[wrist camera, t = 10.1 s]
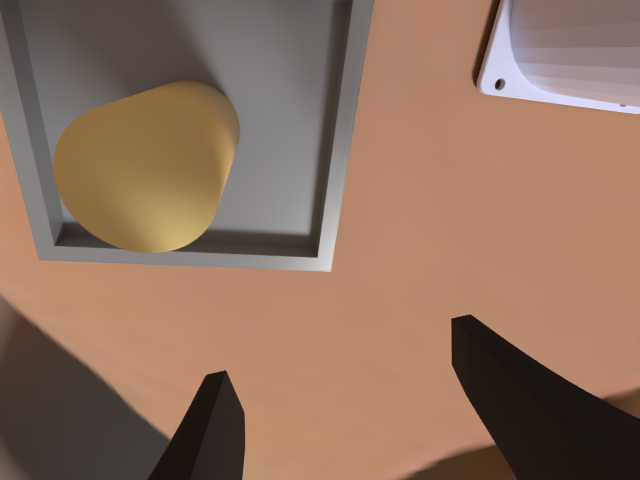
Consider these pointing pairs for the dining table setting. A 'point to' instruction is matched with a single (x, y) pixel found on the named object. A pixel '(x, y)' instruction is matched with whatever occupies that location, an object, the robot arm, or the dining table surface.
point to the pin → (149, 166)
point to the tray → (216, 70)
